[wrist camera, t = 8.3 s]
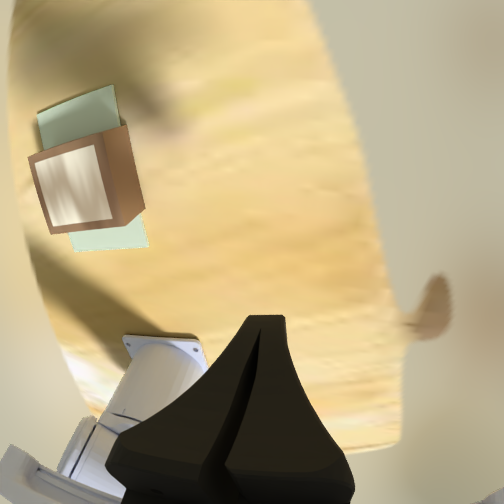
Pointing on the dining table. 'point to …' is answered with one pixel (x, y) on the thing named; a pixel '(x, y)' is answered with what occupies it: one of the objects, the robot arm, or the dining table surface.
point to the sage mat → (80, 125)
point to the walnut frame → (88, 182)
